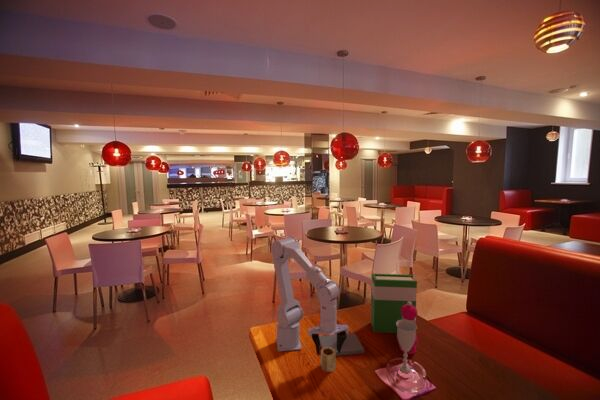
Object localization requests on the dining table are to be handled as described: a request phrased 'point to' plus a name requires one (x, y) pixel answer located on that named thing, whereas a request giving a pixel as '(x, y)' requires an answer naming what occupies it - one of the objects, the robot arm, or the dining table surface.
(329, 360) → the wooden collar
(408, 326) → the chalice
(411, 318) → the pepper mill
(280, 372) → the dining table surface
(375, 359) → the dining table surface
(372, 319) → the hardback book
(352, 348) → the pin board
